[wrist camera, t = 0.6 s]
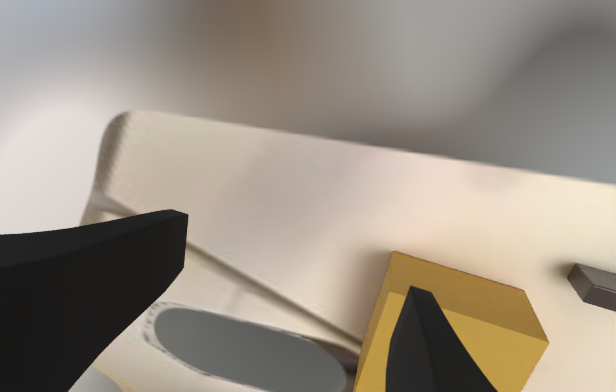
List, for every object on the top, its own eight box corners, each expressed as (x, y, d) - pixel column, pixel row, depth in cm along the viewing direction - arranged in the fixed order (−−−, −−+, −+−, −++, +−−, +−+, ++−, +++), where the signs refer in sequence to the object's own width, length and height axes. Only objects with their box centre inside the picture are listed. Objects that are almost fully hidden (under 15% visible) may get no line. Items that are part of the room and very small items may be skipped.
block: (476, 385, 22) (488, 448, 19) (361, 345, 24) (352, 398, 20) (524, 290, 20) (550, 342, 16) (393, 250, 21) (389, 290, 17)
